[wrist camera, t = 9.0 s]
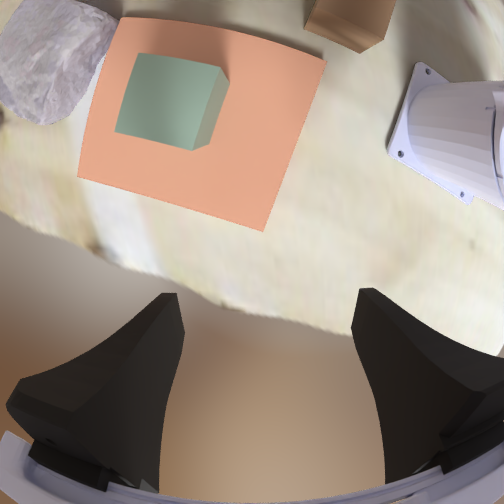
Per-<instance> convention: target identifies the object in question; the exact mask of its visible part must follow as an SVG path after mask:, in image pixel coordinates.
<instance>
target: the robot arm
mask: <svg viewBox="0 0 504 504" xmlns="http://www.w3.org/2000/svg"><path fill="white" fill-rule="evenodd" d="M425 70H427V71H428V75H427V73H426V72H425ZM399 151H401V156H400V157H399V156H398V152H399ZM387 153H388V155H389V156H390V157H392V158H394V159H396V160H397V161H399V162H401V163H403V164H405V165H406V166H408V167H410V168H411V169H413V170H415V171H416V172H418V173H420V174H421V175H423V176H425V177H426V178H428V179H429V180H431V181H432V182H434V183H436V184H437V185H439V186H440V187H442V188H443V189H445V190H446V191H448V192H449V193H451V194H452V195H453V196H455V197H456V198H458V199H459V200H461V201H462V202H463V203H465V204H467V205H469V204H471V202H472V200H473V197H474V196H476V197H478V198H480V199H482V200H484V201H486V202H488V203H490V204H492V205H494V206H496V207H498V208H500V209H502V210H504V81H473V82H457V83H450V82H449V81H448V80H446V79H445V78H444V77H443V76H441V75H440V74H439V73H437V72H436V71H435V70H433V69H432V68H431V67H429V66H428V65H426V64H425V63H423V62H417V63H416V64H415V67H414V71H413V74H412V77H411V81H410V84H409V87H408V90H407V93H406V96H405V99H404V102H403V105H402V108H401V111H400V114H399V117H398V120H397V123H396V125H395V128H394V131H393V134H392V136H391V139H390V142H389V144H388V147H387ZM461 192H462V194H461V196H460V193H461ZM351 330H352V335H353V339H354V343H355V347H356V350H357V352H358V355H359V358H360V360H361V363H362V366H363V368H364V370H365V373H366V376H367V378H368V381H369V384H370V386H371V389H372V392H373V395H374V398H375V402H376V407H377V411H378V416H379V421H380V427H381V433H382V440H383V448H384V459H385V485H382V486H378V487H375V488H371V489H367V490H363V491H358V492H354V493H349V494H344V495H338V496H333V497H327V498H321V499H312V500H304V501H294V502H280V503H225V502H210V501H201V500H192V499H184V498H178V497H172V496H165V495H161V494H158V493H159V464H160V450H161V439H162V431H163V423H164V417H165V410H166V405H167V401H168V397H169V393H170V390H171V386H172V383H173V380H174V377H175V373H176V370H177V367H178V363H179V360H180V357H181V352H182V347H183V341H184V335H185V331H184V327H183V322H182V317H181V312H180V308H179V303H178V298H177V293H161V294H160V295H159V296H158V297H156V298H155V299H154V300H153V301H152V302H151V303H150V304H149V305H147V306H146V307H145V308H144V309H143V310H142V311H141V312H139V313H138V314H137V315H136V316H135V317H134V318H133V319H131V320H130V321H129V322H128V323H127V324H125V325H124V326H123V327H122V328H120V329H119V330H118V331H117V332H116V333H114V334H113V335H111V336H110V337H109V338H107V339H106V340H104V341H103V342H102V343H100V344H98V345H97V346H96V347H94V348H92V349H91V350H89V351H87V352H85V353H84V354H82V355H80V356H78V357H76V358H74V359H73V360H71V361H69V362H67V363H64V364H62V365H60V366H58V367H55V368H53V369H51V370H48V371H45V372H42V373H39V374H36V375H33V376H29V377H26V378H22V379H20V381H19V382H18V384H17V386H16V387H15V389H14V390H13V392H12V394H11V396H10V397H9V399H8V401H7V403H6V408H7V411H8V412H9V414H10V415H11V416H12V418H14V420H15V421H16V422H17V423H18V424H19V425H20V426H21V427H22V428H23V429H24V430H25V431H26V432H27V433H28V434H29V435H30V436H31V437H32V438H33V439H34V442H33V444H32V445H31V444H29V443H27V442H26V441H25V440H23V439H21V438H20V437H18V436H16V435H14V434H13V433H11V432H9V431H5V434H4V436H3V438H2V440H1V442H0V489H1V490H2V491H3V492H4V493H6V494H7V495H8V496H10V497H11V498H12V499H13V500H15V501H16V502H17V503H19V504H390V503H393V502H396V501H399V500H402V499H405V498H406V499H405V500H402V501H400V502H397V503H395V504H493V503H495V502H496V501H497V500H498V499H499V498H500V497H502V496H503V495H504V422H503V420H504V358H500V357H496V356H492V355H489V354H486V353H483V352H480V351H477V350H474V349H472V348H469V347H467V346H465V345H462V344H460V343H458V342H456V341H454V340H452V339H450V338H448V337H446V336H444V335H442V334H441V333H439V332H437V331H435V330H434V329H432V328H430V327H429V326H427V325H426V324H424V323H423V322H421V321H419V320H418V319H416V318H415V317H414V316H412V315H411V314H409V313H408V312H407V311H405V310H404V309H402V308H401V307H400V306H398V305H397V304H396V303H394V302H393V301H392V300H390V299H389V298H388V297H386V296H385V295H383V294H382V293H381V292H379V291H378V290H376V289H374V288H360V289H359V293H358V298H357V303H356V308H355V312H354V317H353V321H352V325H351Z"/></svg>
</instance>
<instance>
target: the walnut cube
mask: <svg viewBox="0 0 504 504" xmlns="http://www.w3.org/2000/svg"><path fill="white" fill-rule="evenodd" d="M395 2H396V0H316V1H315V4H314V6H313V8H312V11H311V13H310V15H309V18H308V20H307V22H306V25H305V27H304V29H305V30H308V31H310V32H313V33H315V34H318V35H320V36H323V37H325V38H327V39H330V40H332V41H334V42H336V43H339V44H341V45H343V46H345V47H347V48H349V49H351V50H353V51H355V52H357V53H359V54H360V53H362V52H363V51H365V50H367V49H368V48H370V47H372V46H373V45H375V44H377V43H379V42H380V41H382V40H384V37H385V34H386V31H387V28H388V25H389V22H390V19H391V15H392V12H393V9H394V5H395Z"/></svg>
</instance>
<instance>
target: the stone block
mask: <svg viewBox="0 0 504 504" xmlns="http://www.w3.org/2000/svg"><path fill="white" fill-rule="evenodd" d="M118 24H119V20H117V19H115V18H113V17H112V16H111V15H109V14H107V13H106V12H105V11H102V10H101V9H98V8H97V7H93V6H90V5H88V4H85V3H82V2H79V1H76V0H24V1H23V2H22V3H21V4H20V5H19V7H18V8H17V10H16V11H15V12H14V14H13V15H12V17H11V19H10V20H9V21H8V23H7V24H6V26H5V27H4V29H3V31H2V33H1V35H0V102H1V103H2V104H3V105H4V106H5V107H7V108H8V109H10V110H11V111H13V112H14V113H15V114H16V115H17V116H18V117H20V118H23V119H27V121H31V122H34V123H36V124H38V125H48V124H53V123H55V122H56V121H59V120H61V119H63V118H64V117H67V116H69V115H70V113H71V112H72V111H73V109H74V107H75V106H76V105H77V103H78V102H79V101H80V99H81V98H82V97H83V95H84V94H85V92H86V91H87V88H88V86H89V83H90V81H91V79H92V76H93V75H94V73H95V69H96V66H97V65H98V63H99V61H100V60H101V58H102V57H103V56H104V55H105V53H106V52H107V50H108V49H109V46H110V44H111V41H112V39H113V36H114V34H115V31H116V29H117V27H118Z"/></svg>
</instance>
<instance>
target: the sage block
mask: <svg viewBox="0 0 504 504" xmlns="http://www.w3.org/2000/svg"><path fill="white" fill-rule="evenodd" d="M229 85H230V83H229V81H228V79H227V78H226V76H225V74H224V72H223V71H222V69H221V67H218V66H214V65H209V64H205V63H200V62H195V61H190V60H185V59H180V58H174V57H168V56H161V55H154V54H146V53H138V55H137V58H136V61H135V63H134V66H133V69H132V72H131V75H130V78H129V81H128V84H127V87H126V90H125V94H124V97H123V100H122V104H121V107H120V111H119V115H118V119H117V122H116V126H115V131H114V132H116V133H121V134H125V135H130V136H134V137H139V138H143V139H147V140H151V141H155V142H159V143H163V144H167V145H171V146H175V147H179V148H182V149H186V150H190V151H193V150H196V149H198V148H201V147H203V146H206V145H208V144H209V143H210V140H211V137H212V134H213V131H214V128H215V125H216V122H217V119H218V116H219V113H220V110H221V107H222V105H223V102H224V99H225V96H226V93H227V91H228V88H229Z"/></svg>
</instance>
